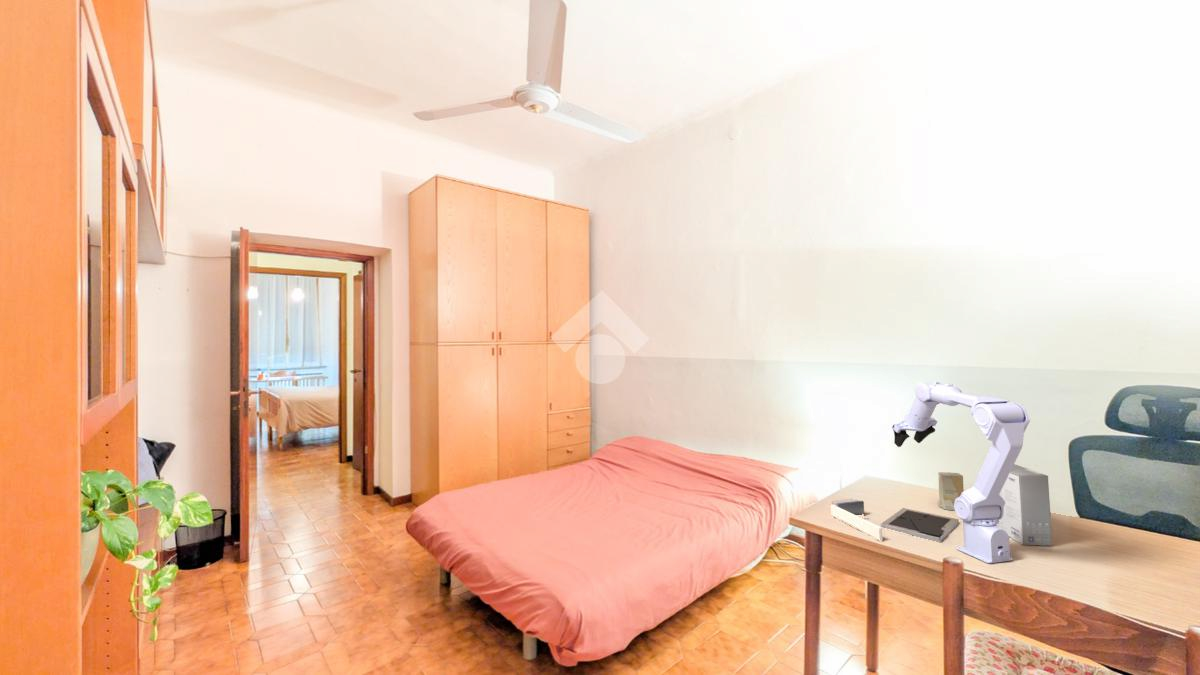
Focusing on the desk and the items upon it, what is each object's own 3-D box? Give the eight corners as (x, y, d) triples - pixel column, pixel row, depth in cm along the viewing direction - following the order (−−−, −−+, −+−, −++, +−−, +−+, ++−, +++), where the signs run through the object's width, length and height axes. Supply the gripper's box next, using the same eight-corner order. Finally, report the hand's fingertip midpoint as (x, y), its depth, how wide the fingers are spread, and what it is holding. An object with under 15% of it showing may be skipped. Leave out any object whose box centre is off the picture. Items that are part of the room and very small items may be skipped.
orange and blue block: (860, 515, 161) (859, 500, 161) (837, 518, 160) (837, 503, 160) (852, 511, 165) (852, 497, 165) (831, 514, 163) (830, 500, 163)
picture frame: (939, 545, 138) (958, 525, 151) (939, 535, 138) (958, 516, 151) (880, 530, 150) (903, 513, 163) (880, 521, 150) (902, 505, 163)
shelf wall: (882, 541, 140) (881, 527, 140) (879, 541, 140) (879, 528, 140) (833, 516, 162) (833, 504, 162) (831, 516, 161) (830, 504, 161)
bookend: (869, 518, 158) (868, 503, 158) (843, 521, 156) (843, 506, 157) (862, 515, 161) (861, 500, 161) (837, 518, 160) (836, 503, 160)
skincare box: (944, 510, 163) (941, 474, 163) (939, 505, 167) (937, 471, 168) (965, 511, 161) (963, 475, 161) (960, 507, 165) (958, 472, 166)
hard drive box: (1054, 547, 132) (1049, 476, 132) (1022, 545, 133) (1018, 475, 134) (1017, 526, 147) (1013, 462, 148) (989, 525, 149) (985, 462, 149)
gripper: (930, 401, 156) (916, 431, 163) (892, 408, 154) (880, 438, 161) (947, 415, 150) (932, 445, 158) (908, 423, 148) (894, 453, 155)
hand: (907, 442), depth 159 cm, fingers open, 7 cm apart
